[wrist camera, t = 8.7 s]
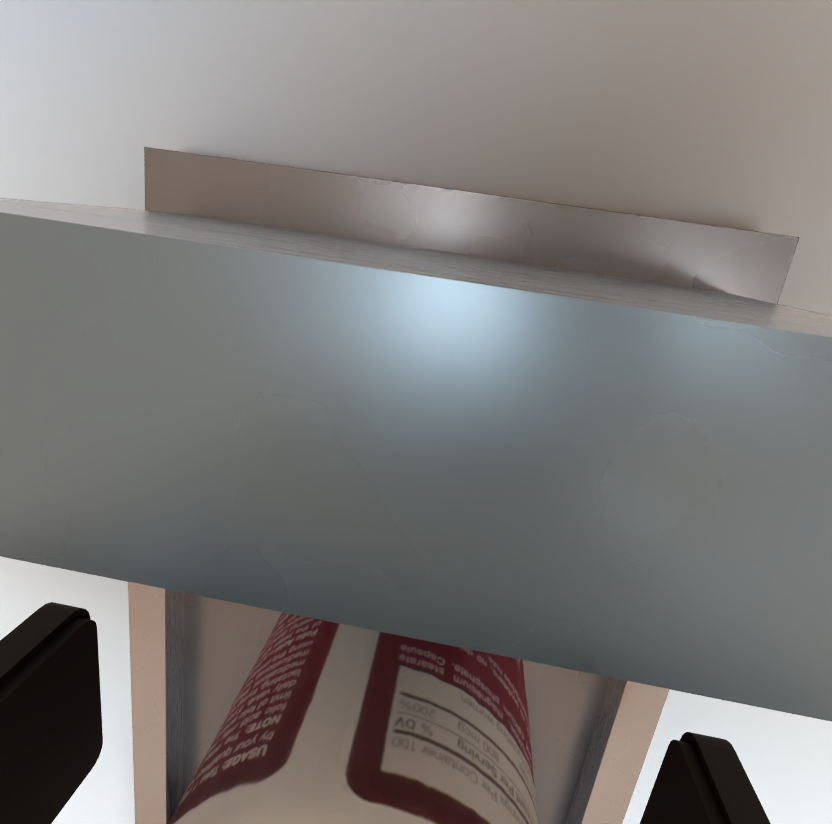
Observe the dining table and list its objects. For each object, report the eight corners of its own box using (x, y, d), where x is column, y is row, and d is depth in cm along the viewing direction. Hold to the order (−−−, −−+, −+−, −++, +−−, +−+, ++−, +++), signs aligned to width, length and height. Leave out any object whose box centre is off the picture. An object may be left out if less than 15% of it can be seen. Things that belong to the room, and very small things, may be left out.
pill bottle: (321, 706, 13) (56, 1460, 5) (279, 522, 12) (-178, 1147, 4) (529, 702, 12) (614, 1581, 4) (510, 505, 11) (579, 1246, 3)
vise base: (180, 157, 11) (-348, 14, 4) (763, 237, 10) (1365, 233, 3) (177, 909, 18) (-19, 1334, 11) (523, 992, 17) (549, 1508, 10)
